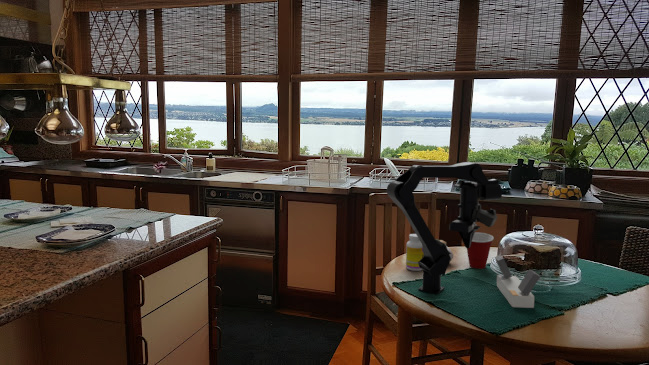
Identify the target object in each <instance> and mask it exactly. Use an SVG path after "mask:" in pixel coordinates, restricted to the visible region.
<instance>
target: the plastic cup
mask: <svg viewBox="0 0 649 365" xmlns="http://www.w3.org/2000/svg"><path fill="white" fill-rule="evenodd" d="M493 241H494V236H493V235H491V234H489V233H486V232H475V233H474V236H473V239H472V242H471V246H470V248H466V252H467V259H468V264H469V267H470V268H473V269H477V270H479V269H481V270H482V269H485V268H486V267H487V262H488V260H489V254H490V250H491V246H492V243H493Z"/></svg>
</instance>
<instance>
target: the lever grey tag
mask: <svg viewBox="0 0 649 365" xmlns="http://www.w3.org/2000/svg"><path fill="white" fill-rule="evenodd" d="M494 258H495V259H494V260H495V261H496V264H497V266H498V267H499V268H498V269H499V270H500V272H501V275H502V276H504V277H505V278H506V279H508V278H510V277H512V276H513V275H512V274H511V271H510V270H509V267H508V265H507V263H506V260H505V258H504V257H503V256H502V255H501V254H499V255H497V256H495V257H494Z"/></svg>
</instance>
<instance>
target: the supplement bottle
mask: <svg viewBox="0 0 649 365" xmlns="http://www.w3.org/2000/svg"><path fill="white" fill-rule="evenodd" d="M408 238H409V240H408V241H407V242H406V250H405V251H406V254H405V255H406V256H405V258H406V259H405V261H406V262H405V268H406V269H407V270H409V271H413V272H420V271H423V269H421V268H420V267H419V264H418V262H419V261H420V260H421V259H422V258H423V256H424V253H423V247H422V243H421V242H420V240H419V238H418V236H417V235H416V233H409V235H408Z"/></svg>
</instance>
